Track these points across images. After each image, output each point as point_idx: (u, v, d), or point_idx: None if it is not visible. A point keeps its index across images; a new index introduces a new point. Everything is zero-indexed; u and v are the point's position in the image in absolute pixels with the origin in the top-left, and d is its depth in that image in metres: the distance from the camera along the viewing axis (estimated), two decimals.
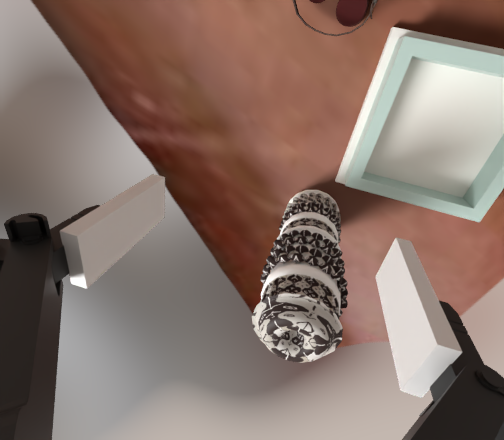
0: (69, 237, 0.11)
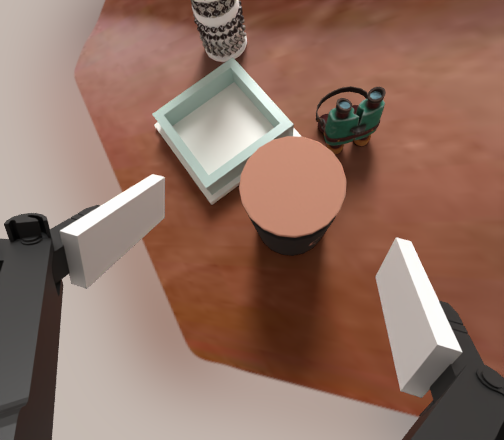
0: (69, 237, 0.11)
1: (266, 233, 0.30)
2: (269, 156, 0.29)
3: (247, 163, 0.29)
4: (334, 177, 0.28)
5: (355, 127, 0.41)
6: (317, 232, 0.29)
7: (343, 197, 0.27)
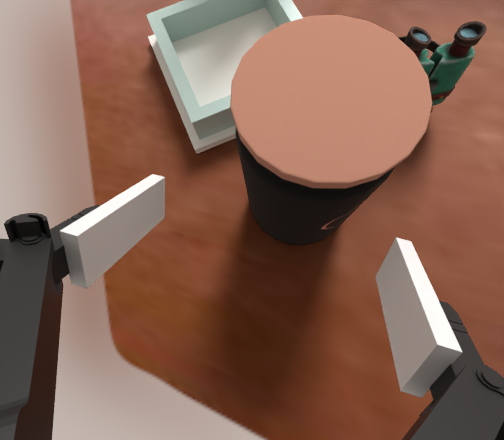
0: (69, 237, 0.11)
1: (261, 177, 0.17)
2: (299, 40, 0.16)
3: (257, 43, 0.16)
4: (410, 95, 0.15)
5: None
6: (352, 194, 0.16)
7: (421, 132, 0.14)
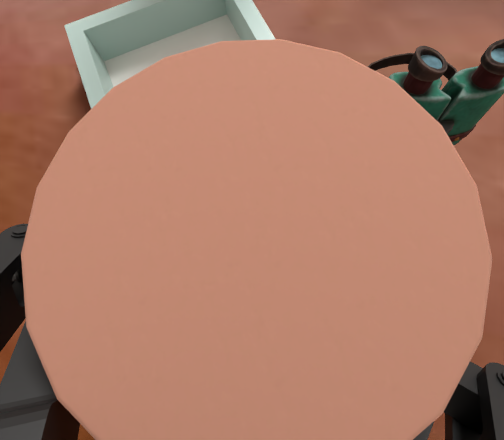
0: None
1: None
2: (192, 94, 0.07)
3: (104, 101, 0.07)
4: (439, 238, 0.06)
5: None
6: None
7: (471, 344, 0.06)
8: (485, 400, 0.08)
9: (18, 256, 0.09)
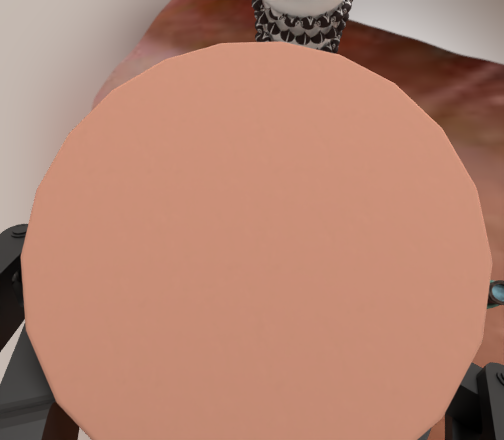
0: None
1: None
2: (193, 97, 0.07)
3: (104, 103, 0.07)
4: (439, 240, 0.06)
5: None
6: None
7: (472, 347, 0.06)
8: (485, 400, 0.08)
9: (18, 256, 0.09)
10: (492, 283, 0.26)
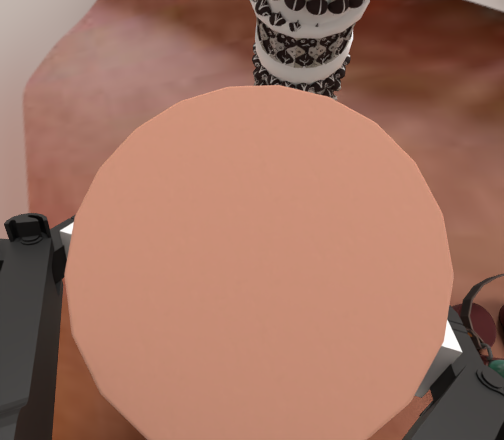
0: (69, 237, 0.11)
1: None
2: (204, 135, 0.09)
3: (128, 141, 0.09)
4: (410, 258, 0.07)
5: None
6: None
7: (435, 346, 0.07)
8: None
9: None
10: None
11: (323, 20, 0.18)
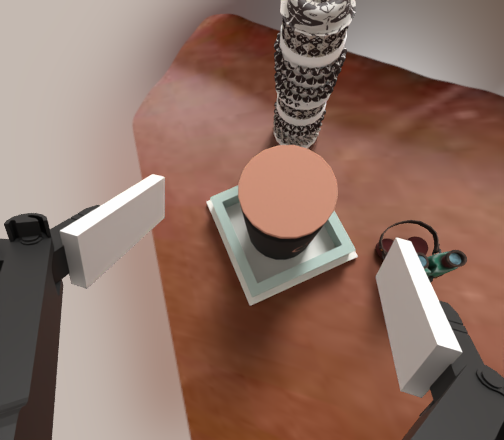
0: (69, 237, 0.11)
1: (254, 229, 0.31)
2: (272, 159, 0.31)
3: (251, 161, 0.31)
4: (327, 191, 0.29)
5: None
6: (301, 238, 0.31)
7: (331, 211, 0.29)
8: None
9: None
10: (449, 252, 0.36)
11: (310, 102, 0.40)
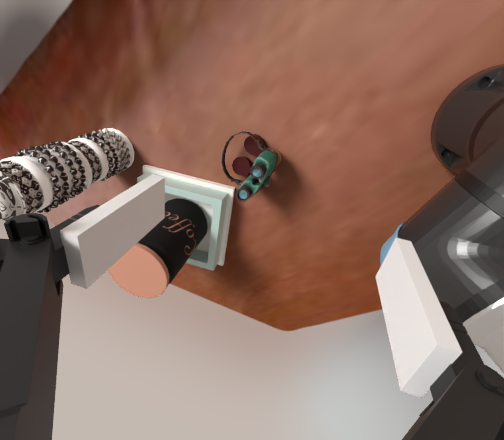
0: (69, 237, 0.11)
1: None
2: (114, 265, 0.44)
3: None
4: (147, 258, 0.42)
5: (262, 183, 0.46)
6: (173, 274, 0.46)
7: (160, 264, 0.42)
8: None
9: None
10: (250, 171, 0.41)
11: (85, 178, 0.46)
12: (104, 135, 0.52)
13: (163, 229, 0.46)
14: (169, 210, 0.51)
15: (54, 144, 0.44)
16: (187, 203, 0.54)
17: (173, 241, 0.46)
